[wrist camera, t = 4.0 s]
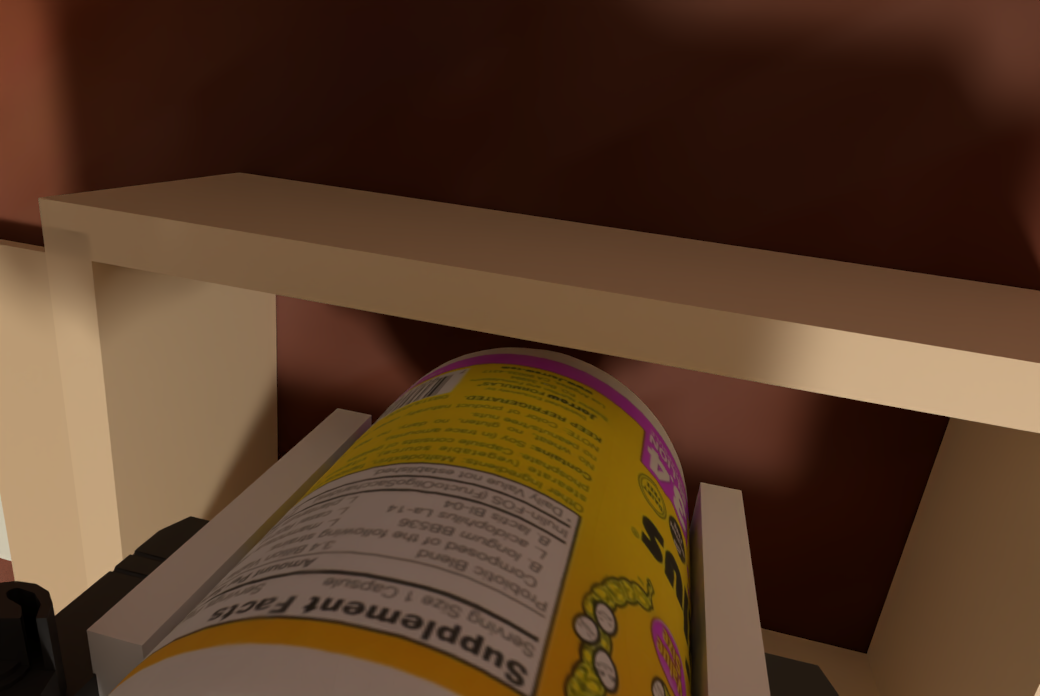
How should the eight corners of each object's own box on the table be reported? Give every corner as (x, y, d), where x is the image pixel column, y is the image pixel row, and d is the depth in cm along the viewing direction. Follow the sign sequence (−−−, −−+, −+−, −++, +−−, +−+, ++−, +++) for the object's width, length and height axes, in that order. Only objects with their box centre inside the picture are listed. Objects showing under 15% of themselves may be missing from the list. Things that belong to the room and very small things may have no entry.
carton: (171, 162, 18) (-53, 182, 13) (1157, 308, 14) (1455, 431, 9) (193, 516, 22) (26, 650, 17) (978, 714, 18) (1106, 981, 12)
